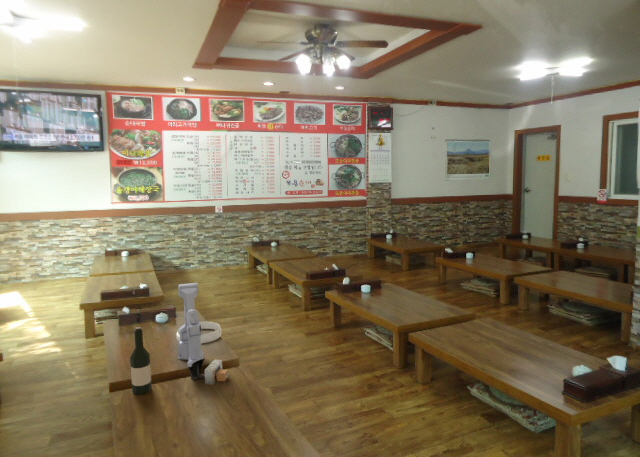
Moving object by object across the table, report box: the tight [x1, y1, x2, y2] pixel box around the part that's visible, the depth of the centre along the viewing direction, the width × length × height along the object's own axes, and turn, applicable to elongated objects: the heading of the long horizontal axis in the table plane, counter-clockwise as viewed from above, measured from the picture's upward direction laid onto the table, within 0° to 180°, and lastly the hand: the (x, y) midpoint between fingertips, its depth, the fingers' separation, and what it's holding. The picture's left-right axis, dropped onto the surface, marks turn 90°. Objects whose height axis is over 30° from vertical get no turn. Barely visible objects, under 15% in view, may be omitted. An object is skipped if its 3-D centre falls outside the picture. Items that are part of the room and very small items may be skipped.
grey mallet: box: [190, 366, 230, 382], centre depth 220 cm, size 19×4×6 cm, turn 81°
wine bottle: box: [129, 326, 153, 396], centre depth 207 cm, size 8×8×30 cm
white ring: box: [176, 320, 223, 344], centre depth 279 cm, size 27×27×6 cm
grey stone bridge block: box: [204, 359, 223, 385], centre depth 219 cm, size 4×12×7 cm, turn 171°
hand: (196, 374), depth 221 cm, fingers open, 4 cm apart
